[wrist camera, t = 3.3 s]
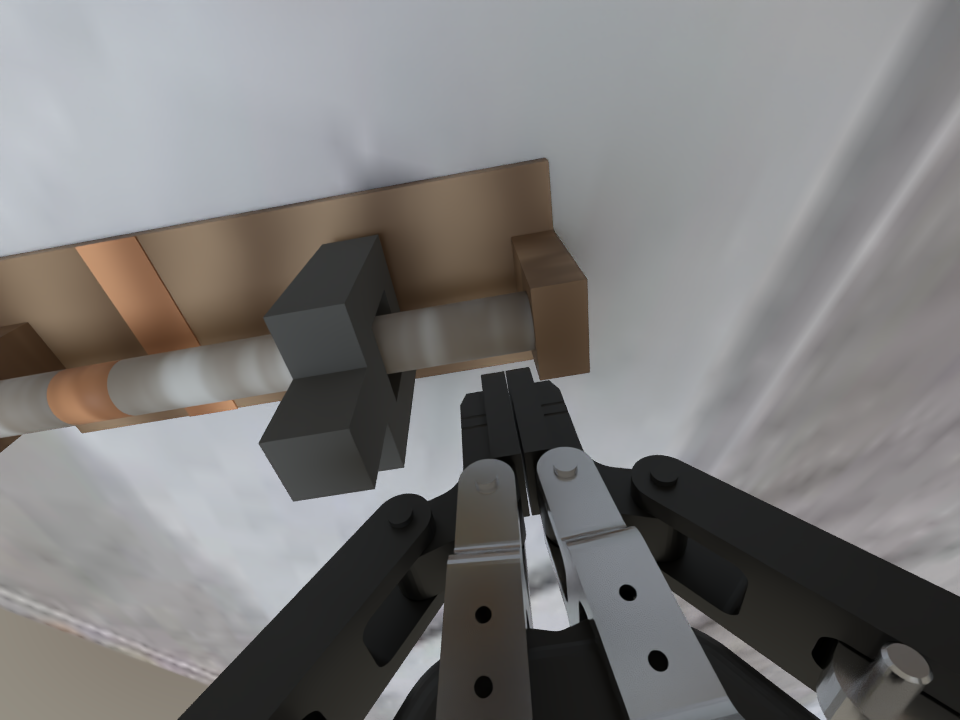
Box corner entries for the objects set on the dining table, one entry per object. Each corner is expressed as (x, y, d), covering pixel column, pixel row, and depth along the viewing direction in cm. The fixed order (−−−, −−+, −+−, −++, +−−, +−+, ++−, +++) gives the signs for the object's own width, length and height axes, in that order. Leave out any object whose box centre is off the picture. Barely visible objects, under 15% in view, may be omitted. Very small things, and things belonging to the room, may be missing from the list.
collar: (378, 234, 19) (317, 357, 10) (416, 366, 23) (395, 536, 14) (321, 244, 19) (217, 374, 10) (369, 374, 23) (320, 547, 14)
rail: (545, 157, 19) (584, 190, 14) (558, 347, 25) (591, 428, 19) (-44, 265, 20) (-241, 337, 15) (91, 424, 26) (-14, 522, 20)
